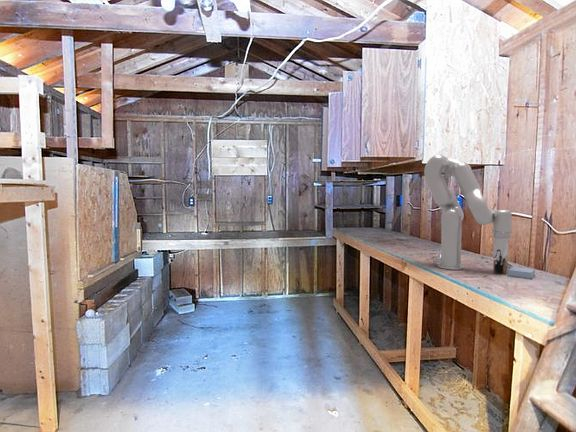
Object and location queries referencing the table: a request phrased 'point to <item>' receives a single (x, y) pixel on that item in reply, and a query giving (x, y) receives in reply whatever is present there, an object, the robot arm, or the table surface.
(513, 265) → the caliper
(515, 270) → the base block
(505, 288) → the table surface
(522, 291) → the table surface
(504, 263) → the walnut block
